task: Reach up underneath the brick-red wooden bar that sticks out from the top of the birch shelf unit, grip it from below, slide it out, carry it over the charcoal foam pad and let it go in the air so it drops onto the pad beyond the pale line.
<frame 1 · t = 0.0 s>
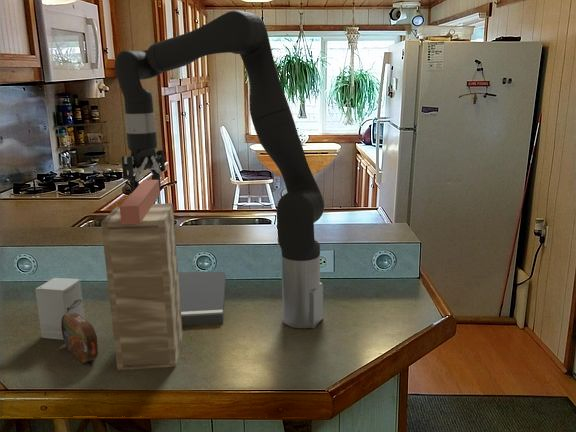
hand: (146, 191, 141), 29 cm above the counter, tool pointing down, fingers open, 8 cm apart
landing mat: (191, 300, 143), on the counter
bar: (142, 207, 112), point 32 cm above the counter, touching shelf stand
supplement box: (64, 333, 126), on the counter
tin: (81, 354, 116), on the counter
shelf stand: (152, 351, 116), on the counter
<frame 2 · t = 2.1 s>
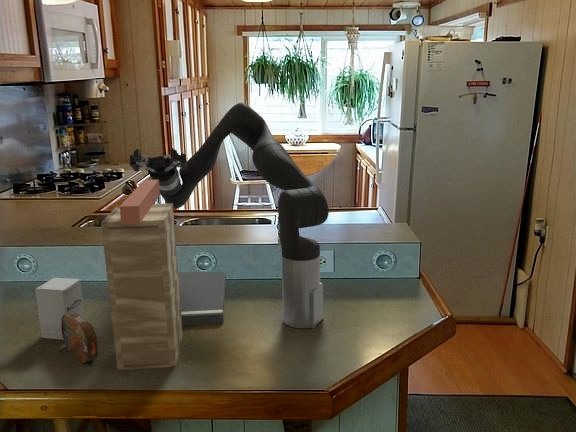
hand: (154, 152, 130), 41 cm above the counter, tool pointing upward, fingers open, 8 cm apart
nothing on the counter moved.
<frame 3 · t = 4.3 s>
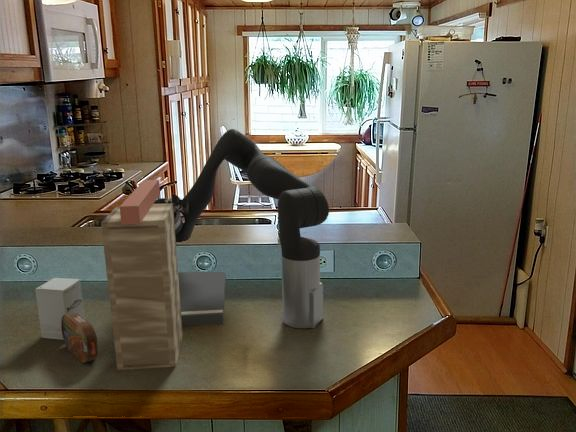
hand: (155, 198, 129), 30 cm above the counter, tool pointing upward, fingers open, 8 cm apart
nothing on the counter moved.
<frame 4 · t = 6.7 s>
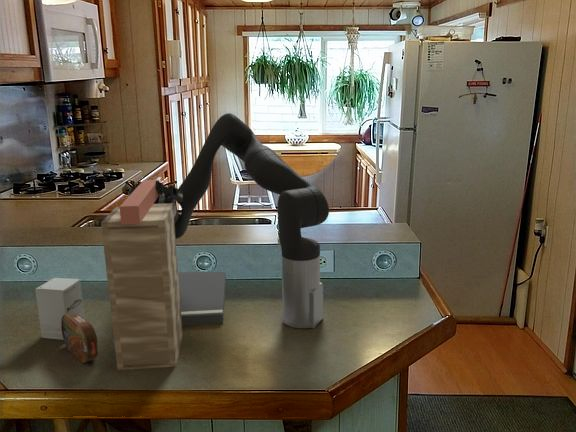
hand: (148, 185, 119), 35 cm above the counter, tool pointing upward, fingers closed on bar, 3 cm apart
bar: (142, 207, 112), point 32 cm above the counter, touching gripper, shelf stand
everything else where it was.
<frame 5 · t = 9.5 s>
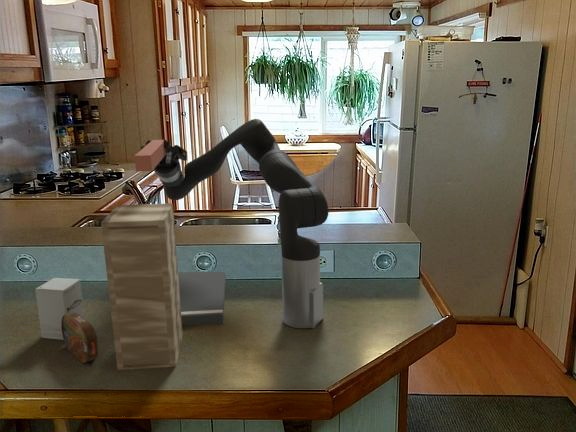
hand: (157, 143, 135), 42 cm above the counter, tool pointing upward, fingers closed on bar, 3 cm apart
bar: (152, 161, 127), point 39 cm above the counter, touching gripper
everything else where it was.
when the fingers open (27 cm above the counter, at t = 12.4 s): bar drops 21 cm, resting on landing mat.
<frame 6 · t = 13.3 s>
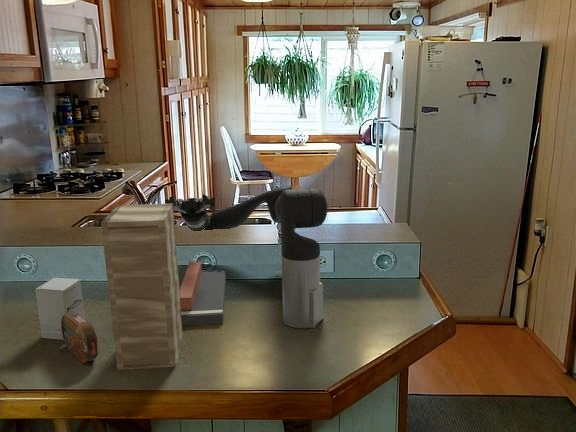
hand: (188, 198, 145), 26 cm above the counter, tool pointing upward, fingers open, 8 cm apart
bar: (191, 290, 143), point 2 cm above the counter, touching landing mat
everything else where it was.
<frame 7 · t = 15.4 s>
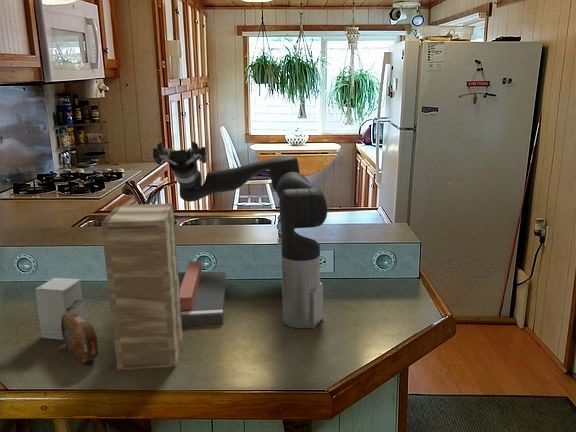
hand: (176, 145, 138), 41 cm above the counter, tool pointing upward, fingers open, 8 cm apart
nothing on the counter moved.
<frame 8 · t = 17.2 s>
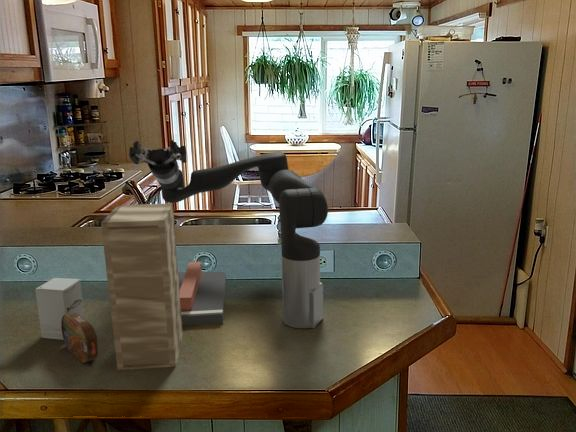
hand: (154, 143, 130), 43 cm above the counter, tool pointing upward, fingers open, 8 cm apart
nothing on the counter moved.
at the end: bar inside the target area on the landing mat (1.1 cm from its centre), point 2.5 cm above the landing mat's base; the gripper is holding nothing; bar touching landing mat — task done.
